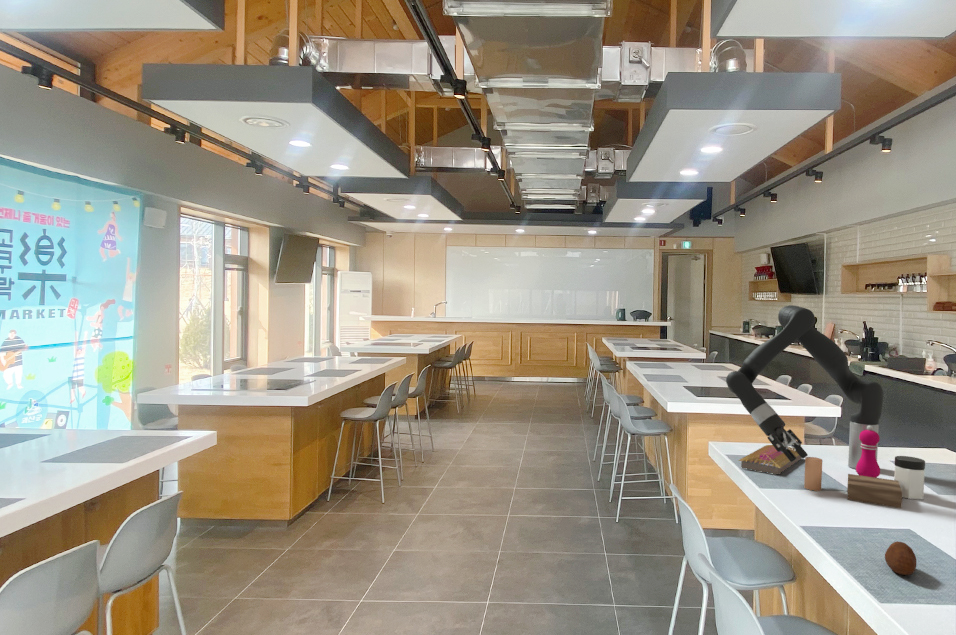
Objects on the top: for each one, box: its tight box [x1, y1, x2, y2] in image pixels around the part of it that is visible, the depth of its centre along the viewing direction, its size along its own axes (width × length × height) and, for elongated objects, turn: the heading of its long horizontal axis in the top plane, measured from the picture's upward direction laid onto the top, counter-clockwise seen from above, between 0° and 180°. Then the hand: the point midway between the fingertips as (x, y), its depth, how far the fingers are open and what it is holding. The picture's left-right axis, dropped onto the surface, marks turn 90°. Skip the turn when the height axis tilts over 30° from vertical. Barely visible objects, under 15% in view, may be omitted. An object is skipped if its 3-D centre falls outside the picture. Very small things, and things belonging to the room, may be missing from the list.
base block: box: [846, 473, 903, 509], centre depth 198 cm, size 14×14×5 cm
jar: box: [893, 455, 926, 500], centre depth 202 cm, size 9×8×12 cm
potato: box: [884, 541, 917, 576], centre depth 143 cm, size 6×12×6 cm, turn 158°
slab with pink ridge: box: [737, 444, 802, 475], centre depth 239 cm, size 35×14×6 cm, turn 140°
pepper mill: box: [855, 426, 881, 478], centre depth 215 cm, size 7×7×20 cm
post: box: [803, 456, 823, 492], centre depth 207 cm, size 5×5×10 cm
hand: (799, 458), depth 210 cm, fingers open, 8 cm apart
